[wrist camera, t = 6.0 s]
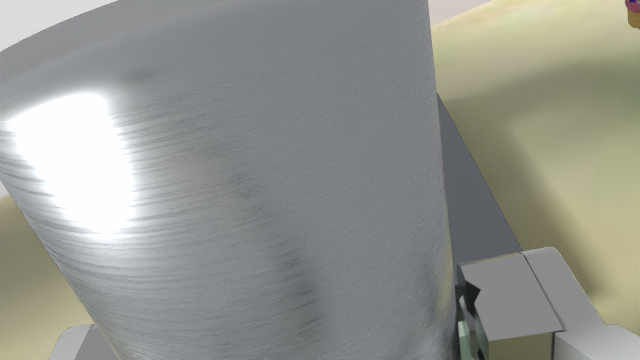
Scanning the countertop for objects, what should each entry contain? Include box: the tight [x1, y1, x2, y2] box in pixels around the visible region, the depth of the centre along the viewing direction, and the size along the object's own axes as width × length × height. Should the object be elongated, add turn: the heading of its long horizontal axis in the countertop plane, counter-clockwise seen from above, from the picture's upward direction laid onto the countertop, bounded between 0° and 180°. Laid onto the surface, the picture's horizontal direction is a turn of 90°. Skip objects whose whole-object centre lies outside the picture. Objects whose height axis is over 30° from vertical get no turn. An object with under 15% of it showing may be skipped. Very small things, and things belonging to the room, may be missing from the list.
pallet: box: [436, 92, 523, 322], centre depth 22 cm, size 11×16×2 cm
